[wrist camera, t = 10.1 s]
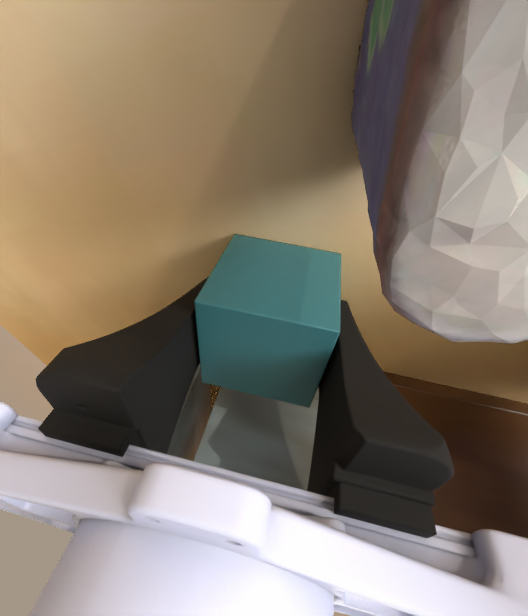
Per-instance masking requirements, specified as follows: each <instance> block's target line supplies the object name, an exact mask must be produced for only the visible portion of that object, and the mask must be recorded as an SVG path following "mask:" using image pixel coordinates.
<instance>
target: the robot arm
mask: <svg viewBox="0 0 528 616" xmlns="http://www.w3.org/2000/svg"><path fill="white" fill-rule="evenodd" d="M208 277H209V276H208ZM208 277H207V278H206V279H204V280H203V281H202V282H201V283H199V284H198V285H197V286H195V287H194V288H193V289H191V290H190V291H189V292H187V293H186V294H185V295H183V296H182V297H181V298H179V299H178V300H176V301H175V302H173V303H172V304H170V305H169V306H167V307H166V308H164V309H162V310H161V311H159V312H157V313H156V314H154V315H152V316H150V317H148V318H146V319H144V320H142V321H140V322H138V323H136V324H133V325H131V326H129V327H127V328H125V329H122V330H120V331H117V332H115V333H112V334H109V335H107V336H104V337H101V338H98V339H95V340H92V341H89V342H85V343H82V344H78V345H75V346H71V347H68V348H64V349H63V350H62V351H61V352H60V353H59V354H58V355H57V356H56V357H55V358H54V359H53V360H52V361H51V362H50V363H49V364H48V366H47V367H46V368H45V369H44V370H43V371H42V372H41V373H40V374H39V375H38V376H37V378H36V384H37V387H38V389H39V390H40V392H41V393H42V394H43V396H44V397H45V398H46V399H47V400H48V402H49V403H50V404H51V405H52V407H53V408H54V409H53V410H52V412H51V413H50V415H48V417H47V418H46V419H45V421H44V422H42V421H39V420H35V419H31V418H27V417H23V416H19V415H18V414H17V412H16V411H15V410H14V409H13V408H12V407H11V406H9V405H7V404H5V403H3V402H0V509H2V510H5V511H8V512H11V513H14V514H18V515H20V516H23V517H27V518H30V519H33V520H36V521H39V522H42V523H45V524H48V525H51V526H54V527H57V528H60V529H63V530H66V531H69V532H72V533H74V535H73V537H72V538H71V540H70V542H69V544H68V545H67V547H66V549H65V551H64V553H63V554H62V556H61V558H60V560H59V562H58V563H57V565H56V567H55V569H54V571H53V572H52V574H51V576H50V578H49V579H48V581H47V583H46V585H45V587H44V588H43V590H42V592H41V594H40V595H39V597H38V599H37V601H36V603H35V604H34V607H33V608H32V610H31V612H30V613H29V615H28V616H334V615H333V614H334V611H336V612H340V613H343V614H347V615H351V616H528V538H524V537H520V536H516V535H513V534H509V533H505V532H501V531H497V530H492V529H481V530H477V531H475V532H473V533H472V534H469V533H465V532H461V531H458V530H454V529H450V528H446V527H442V526H439V525H435V522H434V517H433V512H432V507H431V506H434V505H435V497H434V493H433V491H434V490H436V489H437V488H439V487H440V486H442V485H444V484H445V483H447V482H448V481H449V480H450V479H451V478H452V477H453V476H454V472H455V471H454V468H453V464H452V460H451V456H450V453H449V450H448V448H447V445H446V442H445V439H444V438H443V437H442V436H441V435H440V434H439V433H438V432H437V431H436V430H435V429H434V428H433V427H432V426H431V425H430V424H429V423H428V422H427V421H425V420H424V419H423V418H422V417H421V416H420V415H419V414H418V413H417V412H416V411H415V409H414V408H413V407H412V406H411V405H410V404H409V403H408V402H407V401H406V400H405V399H404V398H403V396H402V395H401V394H400V393H399V392H398V390H397V389H396V388H395V387H394V385H393V384H392V383H391V382H390V381H389V379H388V378H387V377H386V375H385V374H384V372H383V371H382V369H381V368H380V367H379V365H378V364H377V362H376V360H375V359H374V357H373V356H372V354H371V352H370V350H369V349H368V347H367V345H366V343H365V341H364V339H363V337H362V335H361V333H360V331H359V329H358V327H357V325H356V323H355V320H354V318H353V316H352V313H351V311H350V308H349V305H348V303H347V301H344V300H341V302H340V334H339V336H338V339H337V341H336V344H335V346H334V349H333V351H332V354H331V356H330V359H329V361H328V364H327V366H326V369H325V371H324V374H323V376H322V379H321V381H320V383H319V402H318V411H317V420H316V429H315V437H314V445H313V453H312V460H311V468H310V475H309V481H308V488H307V491H305V490H301V489H298V488H294V487H290V486H286V485H282V484H279V483H275V482H271V481H267V480H263V479H259V478H256V477H252V476H248V475H244V474H240V473H237V472H233V471H229V470H225V469H221V468H218V467H214V466H210V465H206V464H202V463H199V462H195V461H191V460H187V459H183V458H179V457H176V456H172V455H168V454H167V452H168V449H169V446H170V443H171V439H172V436H173V433H174V430H175V427H176V424H177V421H178V418H179V416H180V413H181V410H182V407H183V404H184V402H185V399H186V396H187V393H188V391H189V388H190V385H191V383H192V380H193V378H194V375H195V373H196V370H197V368H198V366H199V364H200V356H199V346H198V335H197V325H196V314H195V304H194V301H195V299H196V297H197V296H198V294H199V292H200V291H201V289H202V287H203V286H204V284H205V282H206V281H207V279H208Z"/></svg>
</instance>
